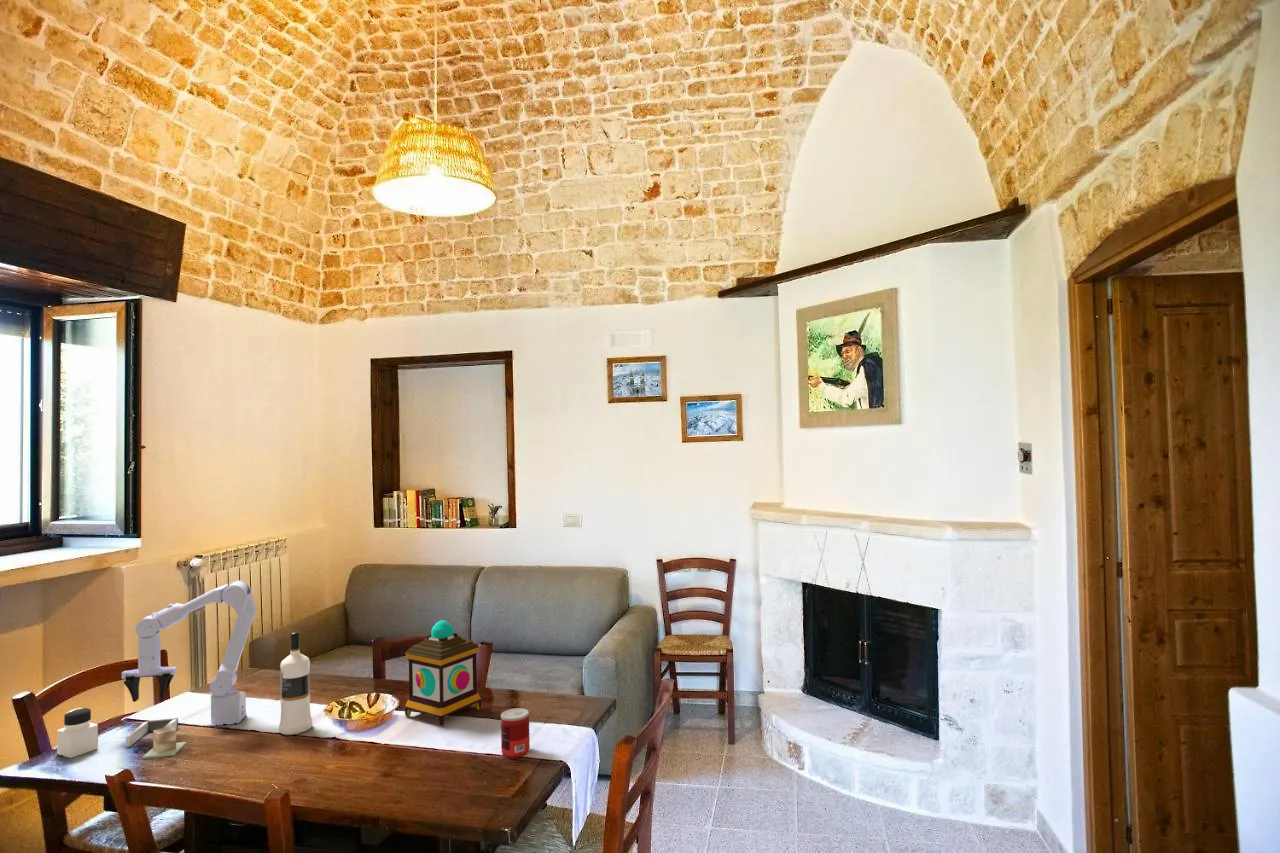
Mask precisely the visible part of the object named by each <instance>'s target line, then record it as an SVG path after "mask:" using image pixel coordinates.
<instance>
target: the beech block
mask: <svg viewBox="0 0 1280 853" xmlns="http://www.w3.org/2000/svg"><path fill="white" fill-rule="evenodd" d="M176 743H177V729H175V728H174V727H173V726H167V727H164V728H160V729H156V730H153V731H152V748H153V750H154V751H155V752H157V753H158V754H159V753H162V752H166V751H169V750H172V749H176Z"/></svg>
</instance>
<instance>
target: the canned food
mask: <svg viewBox="0 0 1280 853" xmlns="http://www.w3.org/2000/svg"><path fill="white" fill-rule="evenodd" d="M500 741H501V746H500V748H501V753H502V756H503V757H505V758H507V759H518V758H519V759H520V758H523V757H525V756H526V755H527V754H528V753H529V752H530V747H531V746H530V742H531V741H530V711H529V710H528V709H527V708H526V709H525V708H522V707H521V708H520V707H519V708H518V707H516V708H509V709H506V710H504V711H502V712H501V714H500Z"/></svg>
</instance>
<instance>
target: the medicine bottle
mask: <svg viewBox="0 0 1280 853" xmlns="http://www.w3.org/2000/svg"><path fill="white" fill-rule="evenodd" d="M63 717H64V720H63V723H64V727H62V728H58V729H57V731H56V753H57V755H58V754H59V755H58V756H61V755H63V756H62V757H64V758H65V757H66V758H68V757H69V759H72V757H73V758H76V757H79V756H82V755H84V754H87V753H90V752H93V751H95V750H98V748H99V725H98V724H96V723H93V722H92V709H91V708H88V707H78V708H74V709H71V710H69V711H67V712H66V713H65V714H64V716H63ZM57 747H58V748H57ZM78 755H79V756H78ZM75 756H76V757H75Z"/></svg>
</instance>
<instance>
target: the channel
mask: <svg viewBox="0 0 1280 853" xmlns="http://www.w3.org/2000/svg"><path fill="white" fill-rule="evenodd" d="M167 726H173V727H174V728H175V729H176V730H177V729H178V728H179V718H178V717H176V718H173V717H172V718H164V719H154V720H145V721H144V722H143V723H141V725H139V726H138V727H137V728H135V729H133V731H131V732H130V733H129V734H128V735H126V736H125V747H127V748H129V747H131V746H133V744H135V743H136V742H137V741H139V740H140V739H141V738H143V736H146V734H147V733H148V732H153V730H156V729H160V728H164V727H167Z"/></svg>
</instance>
